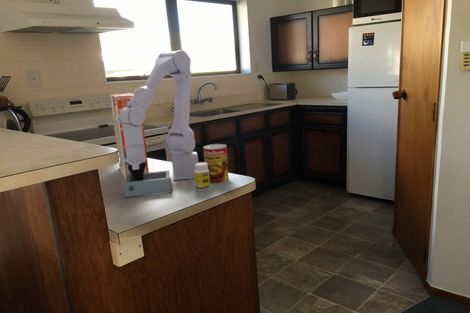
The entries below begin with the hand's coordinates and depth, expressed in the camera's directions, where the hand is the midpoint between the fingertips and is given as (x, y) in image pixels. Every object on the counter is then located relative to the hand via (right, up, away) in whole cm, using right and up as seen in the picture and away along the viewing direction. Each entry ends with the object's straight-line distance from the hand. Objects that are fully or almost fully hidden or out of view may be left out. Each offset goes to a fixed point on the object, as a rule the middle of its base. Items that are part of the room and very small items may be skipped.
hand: (139, 185), depth 122 cm
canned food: (+25, +1, +8) cm, 26 cm away
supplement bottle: (+21, -1, -1) cm, 21 cm away
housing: (+3, -1, +1) cm, 4 cm away
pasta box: (-9, +3, +25) cm, 27 cm away
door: (+4, -2, -4) cm, 7 cm away
